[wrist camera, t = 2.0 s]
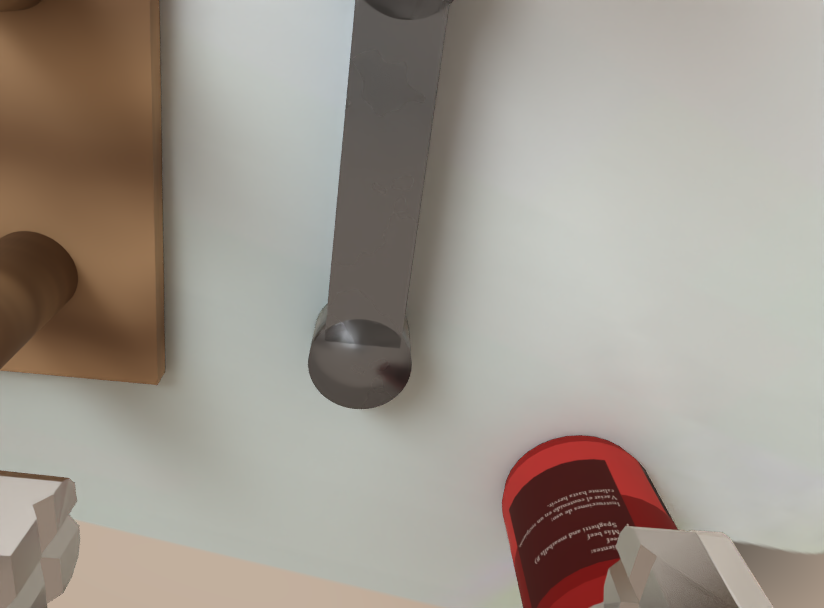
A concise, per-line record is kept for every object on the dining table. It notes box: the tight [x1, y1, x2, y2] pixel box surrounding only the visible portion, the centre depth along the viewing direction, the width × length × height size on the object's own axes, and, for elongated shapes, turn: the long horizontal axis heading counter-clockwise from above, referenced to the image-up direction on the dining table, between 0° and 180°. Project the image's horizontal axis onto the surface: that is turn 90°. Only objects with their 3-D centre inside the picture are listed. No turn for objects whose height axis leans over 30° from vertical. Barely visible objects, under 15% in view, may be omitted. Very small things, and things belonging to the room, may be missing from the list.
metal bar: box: [308, 0, 453, 409], centre depth 28 cm, size 20×4×3 cm, turn 172°
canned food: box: [502, 435, 678, 608], centre depth 32 cm, size 8×8×11 cm
